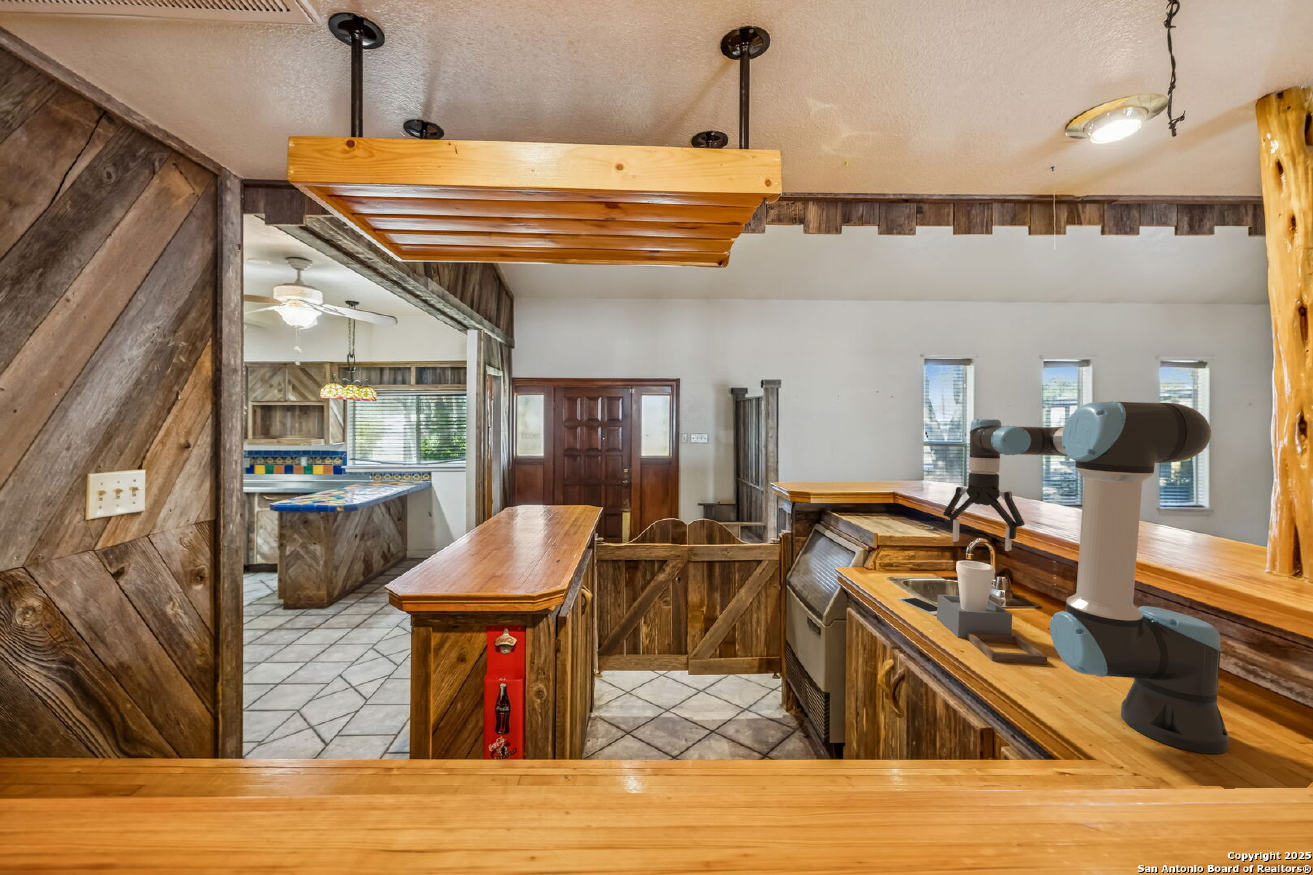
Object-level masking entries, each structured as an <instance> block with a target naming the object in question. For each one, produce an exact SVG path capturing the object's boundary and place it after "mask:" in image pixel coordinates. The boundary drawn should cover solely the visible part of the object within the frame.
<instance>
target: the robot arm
mask: <svg viewBox="0 0 1313 875" xmlns="http://www.w3.org/2000/svg"><path fill="white" fill-rule="evenodd" d="M1211 437H1212V430H1211V425H1210V424H1209V421H1208V420H1207V419H1206V417H1205V416H1204V415H1203V414H1202V413H1201V412H1199V411H1198V410H1196V409H1194V408H1192V407H1190V406H1187V405H1184V404H1182V403H1181V404H1179V403H1174V402H1140V401H1139V402H1136V401H1134V402H1133V401H1131V402H1130V401H1113V400H1110V401H1099V402H1098V401H1097V402H1089V403H1086V404H1083V405H1081V406H1079V407H1078V408H1076V409H1075V410H1074V411H1073V412H1072V414H1070V416H1069V417H1068V419H1067V420H1066V422H1065V424H1064V425H1063V426H1050V427H1049V426H1042V427H1041V426H1017V425H1003V426H1002V422H1001V420H999V419H993V418H991V419H990V418H989V419H988V418H987V419H986V418H984V419H983V418H982V419H981V418H980V419H979V418H976V419H972V420H971V422H970V430H969V458H968V459H969V460H968V461H969V462H968V471H970V472H969V473H968V480H967V481H968V482H967V485H968V486H967V487H963V486H958V487H955V492H954V495H953V496H952V498H951V500H950V501H949V504H948V505H947V506H946V508H945V510H944V511H943V516H944V517H947V518H949V530H952V542H954V543H956V542H959V541H960V518H959V516H960V515H962V513H964V512H965V510H967V509H968V508H969V507H971V506H972V505H973V504H975V505H983V506H991V507H992V508H993V509H994V510H995V511H996V512H997V514H998V515H999V516H1000V517H1001V518H1002V520H1004V522H1005V523H1006V525H1008V526H1007V527H1005V540H1004V541H1005V543H1004V551H1005V552H1009V551H1012V541H1013V540H1016V537H1017V528H1019V527H1023V526H1025V521H1024V519H1023V518H1022V515H1021V513H1020V511H1019V510H1018V508H1017V506H1016V503H1015V502H1014V500H1013V493H1012V492H1011V491H1000V489H999V487H1000V475H999V473H1000V468H1001V467H1000V466H1001V455H1004V456H1016V455H1022V456H1023V455H1026V456H1027V455H1030V456H1032V455H1033V456H1034V455H1035V456H1058V457H1059V456H1060V457H1068V458H1070V459H1071V460H1073V461H1075V466H1074V467H1075V470H1076V471H1077V472H1078V473H1079V474H1080V475H1081V476H1082V477H1083V493H1082V504H1081V507H1082V508H1081V520H1080V521H1081V522H1080V535H1079V536H1080V537H1079V548H1078V549H1079V551H1078V564H1077V577H1076V578H1077V580H1076V593H1074V594H1073V595H1071V596H1069V597H1067V598H1066V602H1065V611H1064V610H1061V611H1059V612H1058V611H1056V612H1055V613H1054V614H1053V616H1051V618H1050V621H1049V633H1050V637H1051V641H1052V644H1053V646H1054V649H1055V651H1056V652H1057V654H1058V656H1059V658H1060V659H1061V660H1062V661H1063V662H1064V663H1065V665H1067V667H1069V668H1070V669H1072V670H1073V671H1075V672H1076V673H1079V674H1082V675H1089V676H1091V675H1092V676H1096V677H1098V678H1099V677H1100V678H1104V677H1113V678H1114V677H1115V678H1127V679H1129V678H1130V679H1132V678H1133V682H1132V684H1131V686H1130V688H1129V690H1128V692H1127V695H1126V697H1125V699H1123V701H1122V702H1121V705H1120V716H1121V719H1122V720H1123V721H1124V722H1125V723H1126V724H1127V725H1128V726H1129V727H1130V728H1132V729H1134V730H1136V731H1137V732H1139V733H1140V734H1143V735H1144V736H1146V737H1149V738H1151V739H1153V740H1155V741H1158V742H1159V743H1162V744H1165V745H1167V746H1171V747H1175V748H1178V749H1181V750H1185V751H1190V752H1194V753H1201V754H1211V755H1213V754H1214V755H1215V754H1216V755H1217V754H1223V753H1226V752H1228V750H1229V744H1230V737H1229V732H1228V731H1227V729H1226V726H1225V722H1224V720H1223V716H1222V713H1221V711H1220V708H1219V705H1218V691H1219V690H1218V689H1219V679H1220V678H1219V676H1220V664H1221V652H1222V648H1221V634H1220V632H1219V630H1218V629H1217V628H1216V627H1215V626H1214V625H1213V624H1211V623H1208V622H1206V621H1204V620H1202V619H1199V618H1196V617H1193V616H1190V615H1187V614H1184V613H1180V612H1177V611H1174V610H1169V609H1164V608H1162V607H1155V606H1148V605H1142V606H1139V607H1136V605H1135V604H1134V596H1135V586H1136V584H1135V582H1136V572H1137V571H1136V569H1137V558H1138V557H1137V556H1138V545H1139V543H1138V542H1139V530H1140V529H1139V528H1140V516H1141V505H1142V489H1143V482H1144V481H1145V480H1147V479H1149V478H1150V477H1152V476H1153V475H1154V474H1155V464H1158V463H1159V464H1160V463H1161V464H1165V463H1166V464H1168V463H1177V462H1183V461H1186V460H1190V459H1193V458H1194V457H1196V456H1198V454H1200V453H1202V452H1203V451H1204V450H1205V449H1206V447H1207V446H1208V444H1209V443H1210V440H1211ZM965 493H966V494H967V495H968V498H967V499H965V501H964V502H963V503H962V504H961V505H960V506H959V507H958V508H956V507H957V505H958V503H959V502H960V500H961V499H962V497H963V495H965ZM1000 497H1001V498H1002V499H1003V500H1004V502H1005V504H1006V506H1007V508H1008V510H1009V512H1010V514H1011V515H1010V514H1009V512H1008V511H1006V509H1005V508H1004V507H1003V505H1002V504H1001V503H1000V501H999V500H998V499H999V498H1000ZM955 508H956V510H955ZM954 510H955V511H954ZM1011 516H1012V517H1011Z"/></svg>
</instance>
